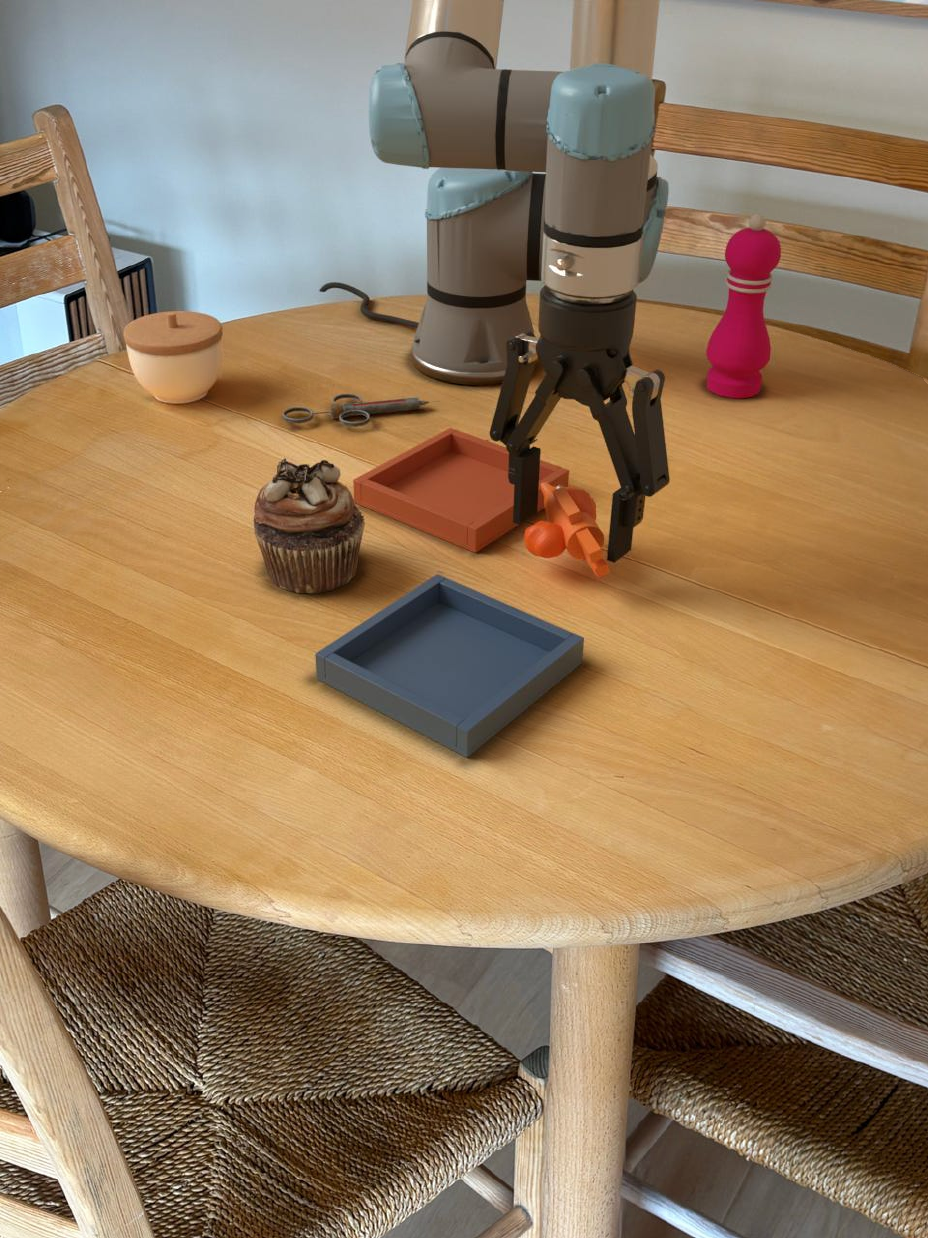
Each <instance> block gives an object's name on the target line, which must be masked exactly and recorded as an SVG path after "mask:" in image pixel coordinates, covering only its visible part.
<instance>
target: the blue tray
mask: <svg viewBox="0 0 928 1238" xmlns="http://www.w3.org/2000/svg"><path fill="white" fill-rule="evenodd" d="M584 645H585V637H583V636H581V635H579V634H577V633H574V632H571V631H570V630H567V629H565V628H562V627H560V626H557V625H555V624H553V623H551V622H549V621H547V620H545V619H542V618H540V617H537V616H536V615H532V614H530V613H528V612H526V611H523V610H521V609H519V608H517V607H514V606H512V605H510V604H508V603H505V602H503V601H501V600H498V599H496V598H493V597H491V596H489V595H487V594H485V593H482V592H480V591H478V590H476V589H473V588H470V587H468V586H466V585H463V584H461V583H459V582H457V581H454V580H452V579H450V578H448V577H446V576H444V575H441V574H439V573H436V574H435V575H434V576H432V577H430V578H429V579H427V580H426V581H424V582H422V583H421V584H419V585H418V586H417V587H415V588H413V589H412V590H410V591H409V592H407V593H406V594H404V595H402V596H401V597H400V598H398V599H396V600H395V601H393V602H392V603H390V604H389V605H387V606H386V607H385V608H383V609H381V610H380V611H378V612H377V613H375V614H373V615H372V616H370V617H369V618H367V619H366V620H364V621H363V622H361V623H360V624H359V625H357V626H355V627H353V628H352V629H351V630H349V631H348V632H346V633H344V634H343V635H341V636H340V637H339V638H337V639H335V640H334V641H332V642H331V643H329V644H328V645H326V646H324V647H323V648H322V649H320V650H318V651H317V652H315V654H314V658H315V670H316V680H318V681H319V682H321V683H324V684H326V685H327V686H329V687H330V688H333V689H335V690H336V691H339V692H341V693H342V694H344V695H347V696H348V697H350V698H352V699H354V700H356V701H358V702H360V703H361V704H364V705H366V706H367V707H369V708H371V709H372V710H375V711H377V712H379V713H381V714H383V716H387V717H388V718H390V719H392V720H394V721H396V722H398V723H400V724H402V725H404V726H405V727H406V728H407V727H408V728H409V729H412V730H413V731H415V732H417V733H419V734H420V735H422V736H425V737H427V738H428V739H431V740H433V742H436V743H438V744H440V745H442V746H444V747H446V748H447V749H449V750H451V751H453V752H455V753H457V754H459V755H461V756H462V757H464V758H466V759H467V758H470V757H471V756H472V754H474V753H475V752H476V751H478V750H479V749H480V748H481V747H482V746H484V745H485V744H486V743H487V742H489V740H491V739H492V738H493V737H494V736H495V735H497V734H498V733H499V732H500V731H502V730H503V729H504V728H505V727H506V726H508V725H509V724H510V723H511V722H512V721H514V720H515V719H516V718H517V717H519V716H520V715H521V714H523V712H525V711H526V710H527V709H529V708H530V707H531V706H532V705H533V704H534V703H535V702H537V701H538V700H539V699H540V698H542V697H543V696H544V695H545V694H547V693H548V692H549V691H550V690H551V689H553V687H555V686H556V685H558V684H559V683H560V682H561V681H562V680H564V678H566V677H567V676H568V675H570V674H571V673H572V672H573V671H574V670H575V669H577V668H578V667H579V666H580V665H582V664H583V658H584Z"/></svg>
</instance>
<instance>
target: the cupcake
mask: <svg viewBox="0 0 928 1238" xmlns="http://www.w3.org/2000/svg"><path fill="white" fill-rule="evenodd" d="M340 477H341V469H340V468H339V467H337V466H336V465H335V464H334V463H331V462H330V461H328V460H327V459H322V460H320V461H319V462H315V464H313V465H312V466H310V464H309V463H308V464H307V463H305V464H304V463H303V464H299V465H297V464H296V463H293V462H291V461H287V459H286V457H284V458H283V459H282V460H281V461H278V465H276V474H275V475H274V476H273V477H272V480H271V481H269V482H267V483H266V484H264V486H263V487H261V489H260V491H259V492H258V494H257V497H256V500H255V502H254V508H253V509H254V511H253V513H254V516H253V528H254V529H253V530H254V531H253V533H254V536H255V539H256V541H257V544H258V547H259V550H260V553H261V555H262V559H263V563H264V566H265V570H266V572H267V575H268V577H269V578H270V580H271V581H272V583H273V584H274V585H276V586H277V587H279V588H281V589H282V590H286V591H288V592H293V593H296V594H311V595H313V594H315V595H316V594H322V593H326V592H327V593H328V592H332V591H334V590H336V589H340V588H342V587H344V586H346V585H348V583H350V581H351V580H353V578H354V577H355V576H356V573H357V568H358V563H359V556H360V551H361V544H362V540H363V535H364V532H365V531H364V530H365V523H366V522H365V517H364V515H362V512H361V511H360V509H359V508H358V507H357V506H356V504H355V502H354V497H353V495H352V491H350V489H349V488H348V487H347V486H346V485H344V484H343V483H342V482H340V481H339V480H340Z"/></svg>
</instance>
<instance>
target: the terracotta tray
mask: <svg viewBox="0 0 928 1238" xmlns="http://www.w3.org/2000/svg"><path fill="white" fill-rule="evenodd" d="M508 465H509V452H508V451H507V449H506V446H503V445H500V444H497V443H494V442H491V441H490V440H486V439H484V438H480V437H477V436H476V435H472V434H469V433H466V432H463V431H462V430H461V431H460V430H457V429H455V428H452V427H449V428H447V429H445V430H443V431H442V432H440V433H438V434H436V435H434V436H432V437H430V438H429V439H426V440H424V441H423V442H421V443H419V444H417V445H415V446H413V447H412V448H410V449H408V450H406V451H404V452H403V453H400V454H399V455H397V456H394V457H393V458H391V459H389V460H387V461H386V462H384V463H382V464H380V465H378V466H376V467H374V468H372V469H370V470H368V471H366V472H365V473H363V474H361V475H360V476H357V477H356V478H353V480H352V485H353V501H354V504H357V505H359V506H362V507H364V508H367V509H368V510H372V511H374V512H376V513H378V514H381V515H383V516H385V517H388V518H391V519H392V520H396V521H398V522H400V523H403V524H405V525H407V526H410V527H412V528H414V529H417V530H420V531H421V532H425V533H427V534H428V535H431V536H434V537H436V538H439V539H441V540H444V541H446V542H448V543H450V544H452V545H453V544H454V545H455V546H458V547H459V548H463V549H465V550H468V551H470V552H471V553H475V554H476V553H478V552H479V551H481V550H482V549H484V548H485V547H487V546H488V545H490V544H491V543H494V541H496V540H498V539H499V538H501V537H502V536H504V535H505V534H507V533H508V532H510V531H511V530H513V529H514V528H516V527H517V526H519V525H518V524H515V523H513V506H514V485H513V484H511V483H509V479H508V472H509V471H508V468H509V467H508ZM569 479H570V469H568V468H567V469H566V468H564V467H561V466H559V465H556V464H552V463H550V462H548V461H545V460H542V459H540V471H539V489H538V508H537V513H539V512H541V511H543V509H545V506H544V499H545V498H544V495H543V492H542V490H541V484H542V483H543V482H547V483H548V484H550V485H551V486H554V487H557V486H559V485H561V486H564V487H569Z"/></svg>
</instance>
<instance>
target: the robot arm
mask: <svg viewBox="0 0 928 1238" xmlns="http://www.w3.org/2000/svg"><path fill="white" fill-rule="evenodd" d="M660 1H661V0H573V4H572V6H573V7H572V24H571V39H570V41H571V43H570V60H569V64H570V65H569V70H566V71H555V70H526V69H525V70H523V69H505V68H502V69H501V68H497V64H498V55H499V47H500V37H501V29H502V21H503V13H504V3H505V0H412V3H411V10H410V18H409V19H410V20H409V24H408V31H407V38H406V46H405V52H404V62H397V63H396V64H386V65H385V64H384V65H381V66H379V67H377V69H376V71H375V72H374V74H373V76H372V78H371V83H370V89H369V95H368V96H369V97H368V99H369V100H368V129H369V138H370V144H371V148H372V150H373V153H374V155H375V156H376V158H377V159H379V160H380V161H381V162H383V163H384V164H390V165H395V166H397V165H398V166H403V167H404V166H406V167H413V168H421V169H423V170H428V169H430V168H436V170H435V171H434V172H433V174H432V175H431V177H430V178H429V180H428V183H427V194H426V195H427V198H426V208H425V211H424V216H425V219H426V298H425V299H426V300H425V303H424V306H423V309H422V312H421V315H420V318H419V321H418V322H417V321H413V320H409V319H405V318H401V317H397V316H393V315H388V314H384V313H383V314H382V313H377V312H373V311H371V310H369V309H367V307H368V306H369V304H370V297H369V295H368V294H367V293H366V292H363V291H362V290H360V289H358V288H356V287H354V286H352V285H349V284H346V283H343V282H337V281H332V282H331V281H330V282H328V283H324V284H323V285H322V286H321V287H320V288H319V290H318V292H320V293H326V292H327V291H329V290H330V289H341V290H344V291H346V292H349V293H351V294H354V295H355V296H357V297H359V298H360V299H361V300H363V301H362V302H361V304H360V307H359V310H360V313H362V315H364V316H365V317H367V318H370V319H374V320H378V321H383V322H389V323H394V324H398V325H403V326H407V327H409V328H413V329H416V331H415V334H414V337H413V339H412V340H413V341H412V346H411V360H412V361H411V362H412V364H413V366H414V367H415V369H417V370H418V371H419V372H421V373H422V374H424V375H426V376H428V377H431V378H433V379H435V380H438V381H441V382H446V383H452V384H458V385H468V386H469V385H472V386H473V385H474V386H479V385H480V386H483V385H495V384H501V388H500V391H499V395H498V399H497V403H496V405H495V406H496V407H495V409H494V414H493V418H492V421H491V426H490V429H489V437H490V439H491V440H492V441H493V442H500V443H502V444H503V445H504V447H506V449H507V451H508V452H509V465H508V467H509V468H508V471H509V472H508V479H509V483H511V484H513V485H514V506H513V523H515V524H518V525H517V526H520V525H522V524H523V523H525V522H526V521H528V520H530V519H531V518H533V517H534V516H536V515H538V512H537V508H538V489H539V471H540V460H541V451H542V450H541V448H540V447H537V446H531V445H533V444H535V442H537V441H538V438H537V437H538V435H539V434H540V432H541V430H543V429H542V428H543V427H544V425H545V424H546V422H547V420H548V419H549V418H550V416H551V414H552V413H553V411H554V409H555V407H556V406H557V405H558V403H559V402H560V400H561V398H562V399H564V400H573V401H576V402H577V403H579V404H581V405H582V406H585V407H588V408H589V412H590V414H591V416H592V418H593V420H595V421H597V422H598V425H599V428H600V431H601V433H602V436H603V440H604V442H605V445H606V448H607V452H608V454H609V457H610V460H611V463H612V466H613V468H614V471H615V475H616V477H617V481H618V483H619V486H620V488H618V489H617V490H615V491H614V492H613V493H612V499H611V510H610V521H609V532H608V541H607V542H608V543H607V553H606V561H608V562H611V563H612V564H615V563H617V562H618V561H619V560H620V559H622V558H623V557H624V556H626V555H627V554H628V553H630V552H631V551H632V546H633V535H634V529H635V528H636V527H637V526H638V525H639V524H641V523H642V521H643V520H644V513H645V504H646V497H648V498H650V497H653V496H654V495H657V493H658V492H660V491H661V490H662V489H664V488H665V487H667V486H668V485H669V484H670V471H669V462H668V461H669V460H668V452H667V443H666V433H665V426H664V425H665V424H664V417H663V406H662V395H663V389H664V385H665V381H666V376H665V374H664V372H663V371H661V370H660V369H655V370H652V371H651V372H648V371H646V370H645V369H642V368H640V367H637V366H635V365H634V362H633V359H632V357H631V356H632V355H631V351H630V349H631V343H632V341H633V340H632V339H633V337H634V331H635V322H636V321H635V320H636V311H637V301H638V296H637V293H636V292H635V289H636V288H637V287H638V285H639V284H641V283H643V282H644V281H645V280H647V278H648V277H649V275H650V274H651V272H652V270H653V267H654V264H655V262H656V258H657V255H658V250H659V248H660V242H661V239H662V234H663V229H664V224H665V216H666V211H667V208H668V207H667V206H668V201H669V194H670V193H669V192H670V191H669V190H670V189H669V188H670V187H669V182H668V181H667V179H665V178H663V177H661V176H658V168H659V163H658V161H657V159H655V157H654V156H653V155H652V154H651V152H652V141H653V137H654V135H655V128H656V123H655V119H656V114H655V113H656V112H655V100H656V99H655V98H656V97H655V96H656V89H655V85H654V83H653V74H654V73H653V72H654V63H655V55H656V54H655V52H656V42H657V33H658V22H659V21H658V20H659V10H660V3H661V2H660ZM437 168H438V169H437ZM527 281H535V282H542V283H543V284H544V285H543V287H542V288H541V289H540V291H539V306H538V307H539V308H538V325H537V326H538V327H537V328H538V332H539V337H537V336H536V335H535V331H534V326H533V321H532V318H531V314H530V310H529V307H528V302H527ZM539 363H540V364H541V366H542V369H543V370H544V373H545V375H544V376H543V378H542V380H541V381H540V383H539V385H538V386H537V388H536V390H535V392H534V397H533V399H532V400H531V402H530V404H529V405H528V407H527V409H526V410H525V412H524V414H523V415H522V411H523V408H524V406H525V405H524V404H525V401H526V397H527V394H528V390H529V387H530V383H531V380H532V376H533V374H534V373H533V372H534V371H535V370H536V368H537V366H538V364H539ZM625 382H626V383H627V384H628V387H629V391H628V393H627V394H628V395H627V396H628V397H629V398H631V399H632V402H631V414H632V422H631V419H630V417H629V414H628V410H627V406H628V398H627V396H626V392H625V389H624V386H623V384H624V383H625ZM608 399H609V401H608V402H606V403H605V401H607V400H608ZM521 416H522V417H521ZM632 423H633V425H632Z"/></svg>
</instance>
